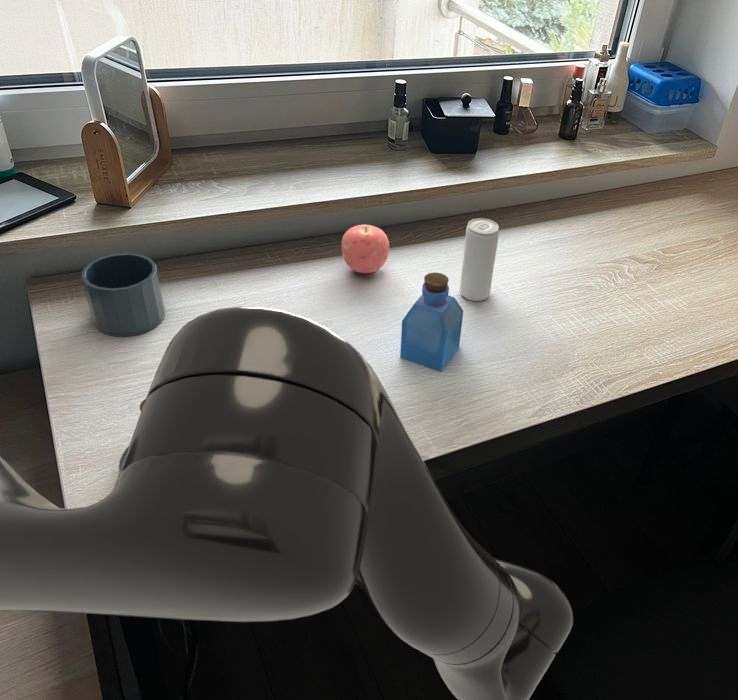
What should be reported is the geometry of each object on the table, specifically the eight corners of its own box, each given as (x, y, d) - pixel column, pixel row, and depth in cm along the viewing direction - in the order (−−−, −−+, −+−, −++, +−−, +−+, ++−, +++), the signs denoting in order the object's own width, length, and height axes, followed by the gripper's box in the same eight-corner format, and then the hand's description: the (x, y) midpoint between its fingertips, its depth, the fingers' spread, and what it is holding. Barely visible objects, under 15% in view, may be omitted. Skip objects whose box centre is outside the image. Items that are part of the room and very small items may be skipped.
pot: (110, 345, 95) (97, 298, 90) (83, 311, 100) (70, 265, 95) (176, 321, 100) (167, 276, 95) (148, 291, 105) (138, 246, 100)
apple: (389, 282, 113) (391, 237, 108) (341, 282, 111) (341, 236, 107) (387, 257, 118) (389, 214, 113) (342, 256, 117) (341, 212, 112)
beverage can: (453, 293, 112) (460, 224, 105) (472, 281, 115) (481, 214, 108) (476, 306, 110) (485, 237, 103) (496, 294, 113) (506, 226, 106)
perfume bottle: (400, 357, 99) (404, 283, 91) (419, 333, 103) (424, 261, 96) (441, 371, 97) (448, 297, 90) (459, 346, 102) (467, 274, 94)
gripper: (403, 440, 62) (276, 357, 69) (273, 543, 53) (142, 435, 60) (400, 497, 67) (282, 414, 74) (281, 601, 57) (158, 495, 64)
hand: (219, 424), depth 67 cm, fingers open, 8 cm apart
